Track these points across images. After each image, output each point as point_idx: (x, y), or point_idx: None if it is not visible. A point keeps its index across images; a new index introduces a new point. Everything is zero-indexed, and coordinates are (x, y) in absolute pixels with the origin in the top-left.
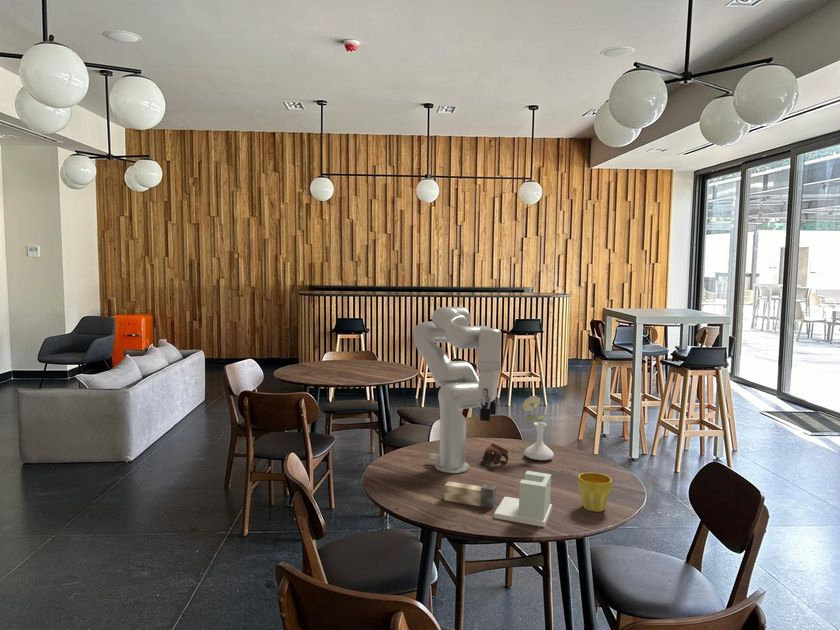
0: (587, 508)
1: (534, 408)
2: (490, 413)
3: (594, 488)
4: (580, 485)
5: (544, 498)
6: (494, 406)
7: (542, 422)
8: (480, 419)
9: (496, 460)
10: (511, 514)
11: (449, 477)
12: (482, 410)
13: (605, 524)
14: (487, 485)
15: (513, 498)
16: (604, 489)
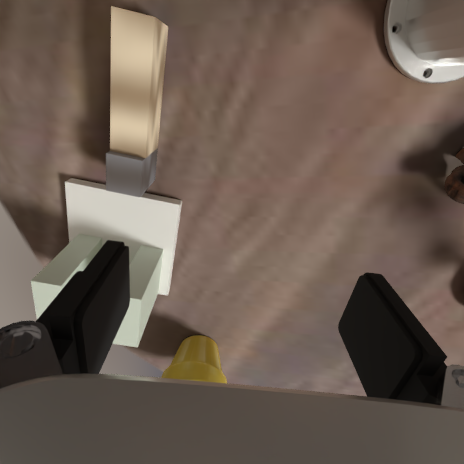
0: (183, 341)
1: None
2: (349, 305)
3: None
4: (175, 369)
5: None
6: (364, 382)
7: None
8: (106, 243)
9: (445, 183)
10: (76, 219)
11: (344, 10)
12: (38, 321)
13: (134, 353)
14: (134, 171)
15: (173, 224)
16: None
